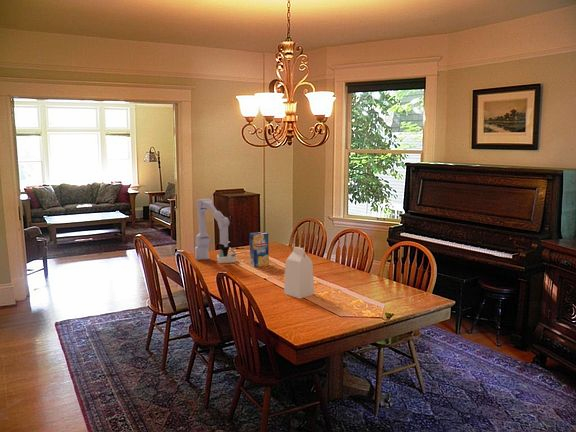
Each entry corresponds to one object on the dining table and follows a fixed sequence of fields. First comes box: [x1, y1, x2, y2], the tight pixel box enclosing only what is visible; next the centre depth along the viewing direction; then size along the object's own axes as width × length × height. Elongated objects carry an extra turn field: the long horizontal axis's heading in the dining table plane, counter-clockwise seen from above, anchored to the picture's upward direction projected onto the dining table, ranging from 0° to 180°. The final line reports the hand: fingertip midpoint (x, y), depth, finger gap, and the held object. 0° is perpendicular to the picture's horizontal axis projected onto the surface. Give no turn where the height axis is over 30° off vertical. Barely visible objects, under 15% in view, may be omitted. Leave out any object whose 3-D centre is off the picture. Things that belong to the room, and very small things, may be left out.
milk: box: [283, 246, 315, 299], centre depth 262 cm, size 12×12×26 cm
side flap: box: [229, 247, 237, 256], centre depth 338 cm, size 6×8×1 cm
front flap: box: [218, 249, 229, 257], centre depth 330 cm, size 6×6×1 cm
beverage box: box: [249, 231, 270, 268], centre depth 325 cm, size 7×11×22 cm, turn 119°
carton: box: [216, 253, 237, 264], centre depth 338 cm, size 12×9×4 cm
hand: (224, 255), depth 327 cm, fingers open, 7 cm apart
